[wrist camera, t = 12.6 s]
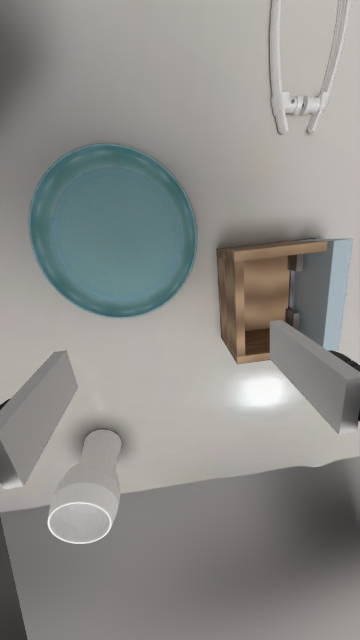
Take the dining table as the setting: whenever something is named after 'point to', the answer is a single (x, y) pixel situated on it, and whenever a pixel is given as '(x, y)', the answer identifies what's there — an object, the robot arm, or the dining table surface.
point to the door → (323, 292)
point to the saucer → (112, 230)
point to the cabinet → (258, 293)
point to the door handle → (319, 104)
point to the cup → (88, 492)
